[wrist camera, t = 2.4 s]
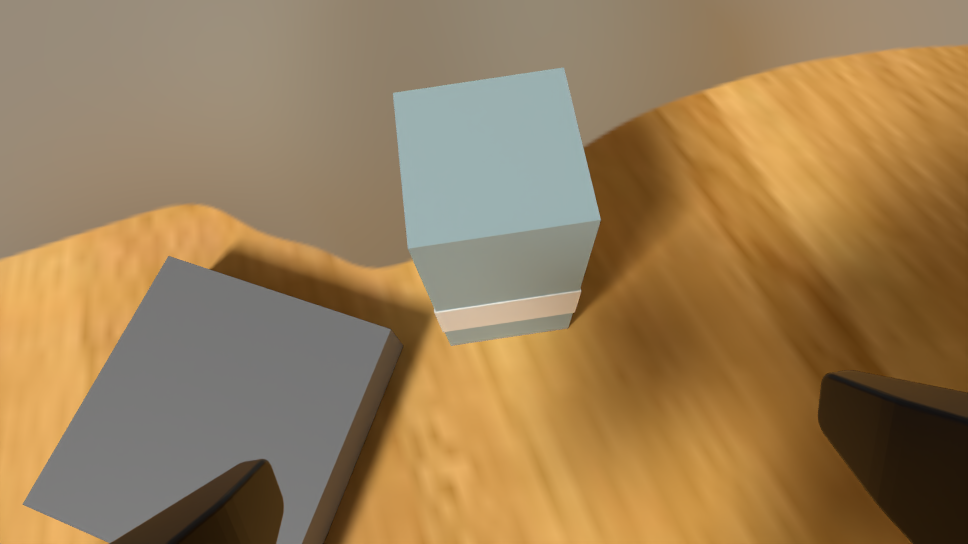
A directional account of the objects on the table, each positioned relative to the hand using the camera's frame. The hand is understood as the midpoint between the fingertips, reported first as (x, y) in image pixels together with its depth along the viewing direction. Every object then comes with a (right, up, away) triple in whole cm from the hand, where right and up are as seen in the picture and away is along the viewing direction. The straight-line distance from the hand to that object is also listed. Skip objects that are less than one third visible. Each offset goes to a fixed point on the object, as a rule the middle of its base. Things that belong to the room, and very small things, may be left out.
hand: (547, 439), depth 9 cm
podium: (-11, -3, +14) cm, 18 cm away
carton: (0, +2, +16) cm, 16 cm away
